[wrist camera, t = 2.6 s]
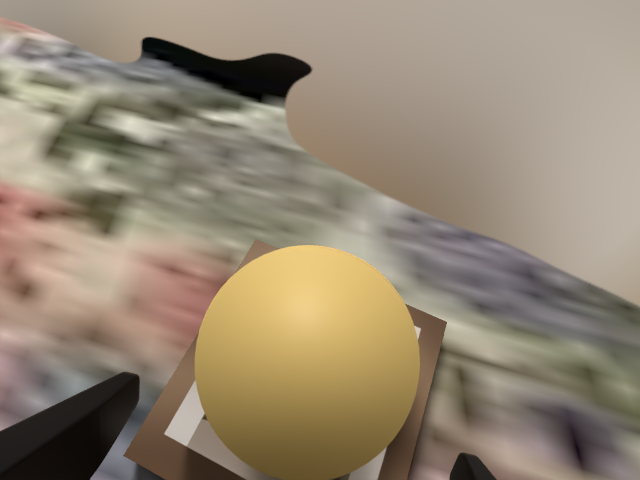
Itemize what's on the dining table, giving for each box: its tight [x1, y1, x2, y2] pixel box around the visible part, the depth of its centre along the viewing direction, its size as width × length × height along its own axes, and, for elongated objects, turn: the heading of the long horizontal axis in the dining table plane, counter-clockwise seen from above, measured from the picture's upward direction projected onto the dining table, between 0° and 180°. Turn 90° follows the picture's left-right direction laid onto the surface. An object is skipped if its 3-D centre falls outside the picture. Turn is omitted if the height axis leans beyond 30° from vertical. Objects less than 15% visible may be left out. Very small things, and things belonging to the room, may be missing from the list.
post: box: [195, 245, 420, 480], centre depth 11 cm, size 4×4×11 cm
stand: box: [123, 239, 447, 480], centre depth 15 cm, size 12×12×4 cm
